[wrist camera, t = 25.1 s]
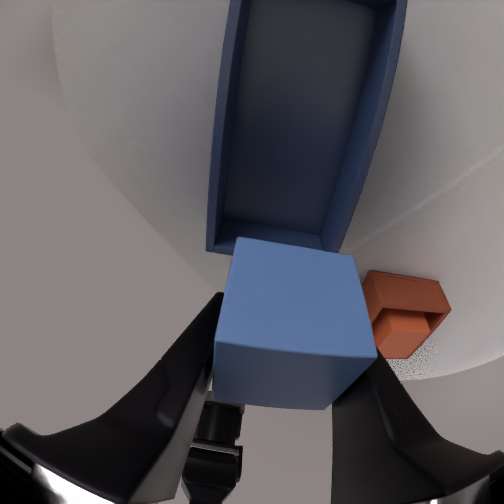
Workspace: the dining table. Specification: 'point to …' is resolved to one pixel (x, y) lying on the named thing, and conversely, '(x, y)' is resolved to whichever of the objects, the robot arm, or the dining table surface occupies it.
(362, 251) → the dining table surface
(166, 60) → the dining table surface
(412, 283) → the terracotta bin
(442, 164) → the dining table surface
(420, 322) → the terracotta block
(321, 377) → the slate block
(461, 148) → the dining table surface
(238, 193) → the slate bin
